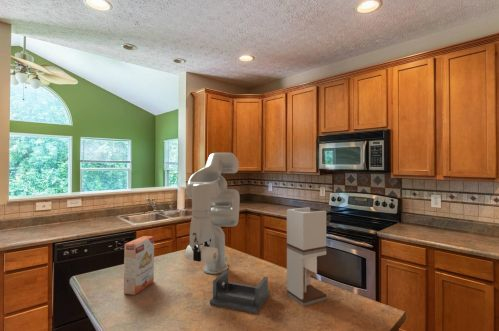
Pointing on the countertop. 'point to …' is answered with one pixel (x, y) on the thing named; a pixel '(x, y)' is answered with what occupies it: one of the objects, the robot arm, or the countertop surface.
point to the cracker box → (138, 264)
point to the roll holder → (239, 294)
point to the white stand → (304, 253)
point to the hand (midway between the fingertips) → (201, 257)
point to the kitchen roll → (203, 254)
